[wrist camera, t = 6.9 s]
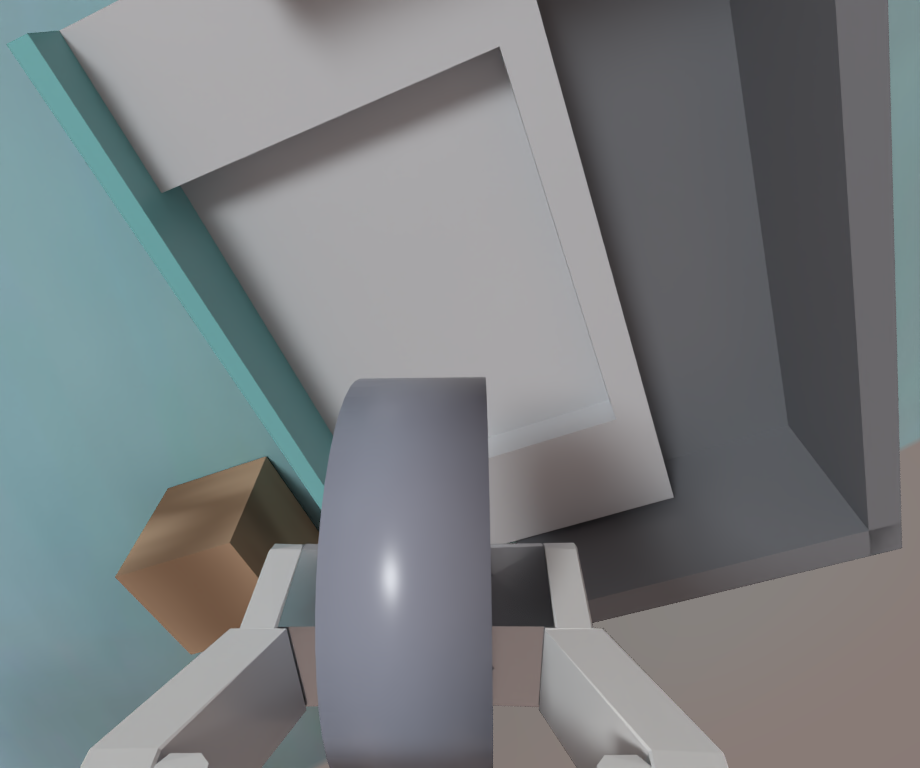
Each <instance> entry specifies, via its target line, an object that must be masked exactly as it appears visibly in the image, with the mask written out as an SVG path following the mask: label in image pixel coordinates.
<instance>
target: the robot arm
mask: <svg viewBox="0 0 920 768" xmlns="http://www.w3.org/2000/svg"><path fill="white" fill-rule="evenodd" d="M490 546H491V606H492V685H493V706H525V707H526V706H527V707H539V711H540V712H541V714H542V715H543V717H544V718H545V720H546V721H547V723H548V724H549V726H550V727H551V729H552V730H553V732H554V734H555V735H556V736H557V738H558V739H559V741H560V743H561V744H562V746H563V747H564V749H565V750H566V752H567V753H568V755H569V756H570V758H571V760H572V761H573V763H574V764H575V766H576V767H577V768H729V767H728V764H727V761H726V758H725V755H724V753H723V752H722V751H721V750H720V749H719V748H718V747H717V746H716V745H715V744H714V743H713V742H712V741H711V739H710V738H709V737H708V736H707V735H706V734H705V733H704V732H703V731H702V730H701V729H700V728H699V727H698V726H697V725H696V724H695V723H694V722H693V721H692V720H691V719H690V718H689V717H688V716H687V715H686V714H685V713H684V711H683V710H682V709H681V708H680V707H679V706H678V705H677V704H676V703H675V702H674V701H673V700H672V699H671V698H670V697H669V696H668V695H667V694H666V693H665V692H664V691H663V690H662V689H661V688H660V687H659V686H658V685H657V684H656V683H655V681H654V680H653V679H652V678H650V677H649V675H648V674H647V673H646V672H645V671H644V670H643V669H642V668H641V667H640V666H639V665H638V664H637V663H636V662H635V661H634V660H633V659H632V658H631V657H630V656H629V655H628V654H627V653H626V652H625V650H624V649H623V648H622V647H621V646H620V645H619V644H618V643H617V642H616V641H615V640H614V639H613V638H612V637H611V636H610V635H609V634H608V633H607V632H606V631H605V630H604V629H603V628H593V624H592V619H591V614H590V609H589V604H588V599H587V594H586V589H585V584H584V579H583V574H582V569H581V564H580V559H579V554H578V549H577V547H576V545H575V544H574V543H543V545H542V543H517V544H490ZM317 556H318V544H274V546H273V547H272V548H271V549H270V550H269V552H268V554H267V557H266V560H265V562H264V565H263V568H262V570H261V573H260V576H259V578H258V581H257V584H256V586H255V589H254V592H253V594H252V597H251V600H250V602H249V605H248V608H247V610H246V613H245V616H244V618H243V621H242V623H241V626H240V628H231V629H229V630H228V631H227V632H226V633H224V634H223V635H222V636H221V637H220V638H219V639H217V640H216V641H215V642H214V643H213V644H212V645H210V646H209V647H208V648H207V649H206V650H205V651H203V652H202V653H201V654H200V655H199V656H198V657H196V658H195V659H194V660H193V661H192V662H191V663H189V664H188V665H187V666H186V667H185V668H184V669H182V670H181V671H180V672H179V673H178V674H177V675H175V676H174V677H173V678H172V679H171V680H170V681H168V682H167V683H166V684H165V685H164V686H163V687H161V688H160V689H159V690H158V691H157V692H156V693H155V694H153V695H152V696H151V697H150V698H149V699H148V700H146V701H145V702H144V703H143V704H142V705H141V706H139V707H138V708H137V709H136V710H135V711H134V712H132V713H131V714H130V715H129V716H128V717H127V718H125V719H124V720H123V721H122V722H121V723H120V724H118V725H117V726H116V727H115V728H114V729H113V730H111V731H110V732H109V733H108V734H107V735H106V736H104V737H103V738H102V739H101V740H100V741H99V742H97V743H96V744H95V745H94V746H93V747H92V748H90V749H89V751H88V753H87V755H86V757H85V759H84V761H83V763H82V765H81V767H80V768H261V767H262V766H263V765H264V764H265V762H266V761H267V760H268V758H269V757H270V756H271V755H272V753H273V752H274V751H275V750H276V748H277V747H278V746H279V744H280V743H281V742H282V741H283V739H284V738H285V737H286V735H287V734H288V733H289V732H290V730H291V729H292V728H293V727H294V725H295V724H296V723H297V721H298V720H299V719H300V718H301V716H302V715H303V714H304V712H305V711H306V706H318V694H317V681H316V656H315V601H316V573H317Z"/></svg>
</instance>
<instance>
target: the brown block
mask: <svg viewBox="0 0 920 768" xmlns="http://www.w3.org/2000/svg"><path fill="white" fill-rule="evenodd" d="M318 541H319V532H318V530H317V529H316V527H315V526H314V524H313V523H312V522H311V520H310V519H309V517H308V516H307V514H306V513H305V511H304V510H303V509H302V507H301V506H300V504H299V503H298V501H297V500H296V498H295V497H294V496H293V494H292V493H291V491H290V490H289V488H288V487H287V486H286V484H285V483H284V481H283V480H282V478H281V477H280V475H279V474H278V473H277V471H276V470H275V468H274V467H273V465H272V464H271V463H270V461H269V460H268V458H267V457H263V458H260V459H257V460H254V461H251V462H248V463H245V464H241V465H238V466H235V467H232V468H229V469H226V470H223V471H220V472H217V473H214V474H211V475H208V476H205V477H202V478H199V479H196V480H193V481H189V482H186V483H183V484H180V485H177V486H174V487H171V488H168V489H167V491H166V493H165V494H164V496H163V498H162V499H161V501H160V503H159V504H158V506H157V508H156V509H155V511H154V513H153V514H152V516H151V518H150V519H149V521H148V523H147V524H146V526H145V528H144V529H143V531H142V533H141V534H140V536H139V538H138V540H137V541H136V543H135V545H134V546H133V548H132V550H131V551H130V553H129V555H128V556H127V558H126V560H125V561H124V563H123V565H122V566H121V568H120V570H119V571H118V573H117V575H116V576H115V578H116V579H117V580H118V581H119V582H120V583H121V584H122V585H123V586H124V587H125V588H126V589H127V590H128V591H129V592H130V593H131V594H132V595H133V596H134V597H135V598H136V599H137V600H138V601H139V602H140V603H141V604H142V605H143V606H144V607H145V608H146V609H147V610H148V611H149V612H150V613H151V614H152V615H153V616H154V617H155V618H156V619H157V620H158V621H159V622H160V623H161V624H162V625H163V627H164V628H165V629H166V630H167V631H168V632H169V633H170V634H171V635H172V636H173V637H174V638H175V639H176V640H177V641H178V642H179V643H180V644H181V645H182V646H183V647H184V648H185V649H186V650H187V651H188V652H189V653H190V654H195V653H199V652H203V651H205V650H206V649H207V648H208V647H209V646H210V645H212V644H213V643H214V642H215V641H216V640H217V639H219V638H220V637H221V636H222V635H223V634H224V633H226V632H227V631H228V630H229V629H231V628H240V626H241V623H242V621H243V618H244V616H245V613H246V610H247V608H248V605H249V602H250V600H251V597H252V594H253V592H254V589H255V586H256V584H257V581H258V578H259V576H260V573H261V570H262V568H263V565H264V562H265V560H266V557H267V554H268V552H269V550H270V549H271V548H272V547H273V546H274V544H318Z"/></svg>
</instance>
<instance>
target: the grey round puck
mask: <svg viewBox="0 0 920 768" xmlns="http://www.w3.org/2000/svg"><path fill="white" fill-rule="evenodd" d="M315 656H316V681H317V694H318V706H319V716H320V724H321V731H322V738H323V743H324V748H325V753H326V757H327V761H328V764H329V767H330V768H493V685H492V606H491V546H490V496H489V454H488V419H487V392H486V377H445V378H369V379H358V380H356V381H355V382H354V383H353V384H352V385H351V386H350V388H349V390H348V392H347V394H346V396H345V398H344V401H343V403H342V406H341V409H340V412H339V415H338V419H337V423H336V426H335V430H334V435H333V439H332V444H331V449H330V454H329V460H328V466H327V472H326V478H325V485H324V493H323V501H322V509H321V519H320V530H319V541H318V556H317V573H316V601H315Z"/></svg>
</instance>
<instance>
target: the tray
mask: <svg viewBox="0 0 920 768" xmlns="http://www.w3.org/2000/svg"><path fill="white" fill-rule="evenodd" d="M6 45H7V46H8V48H9V49H10V50H11V52H12V53H13V55H14V56H15V58H16V59H17V61H18V62H19V64H20V65H21V67H22V68H23V70H24V71H25V73H26V74H27V76H28V77H29V79H30V80H31V82H32V83H33V85H34V86H35V87H36V89H37V90H38V92H39V93H40V95H41V96H42V98H43V99H44V101H45V102H46V104H47V105H48V107H49V108H50V110H51V111H52V113H53V114H54V116H55V117H56V119H57V120H58V122H59V123H60V124H61V126H62V127H63V129H64V130H65V132H66V133H67V135H68V136H69V138H70V139H71V141H72V142H73V144H74V145H75V147H76V148H77V150H78V151H79V153H80V154H81V156H82V157H83V159H84V160H85V161H86V163H87V164H88V166H89V167H90V169H91V170H92V172H93V173H94V175H95V176H96V178H97V179H98V181H99V182H100V184H101V185H102V187H103V188H104V190H105V191H106V193H107V194H108V196H109V197H110V198H111V200H112V201H113V203H114V204H115V206H116V207H117V209H118V210H119V212H120V213H121V215H122V216H123V218H124V219H125V221H126V222H127V224H128V225H129V227H130V228H131V230H132V231H133V233H134V234H135V235H136V237H137V238H138V240H139V241H140V243H141V244H142V246H143V247H144V249H145V250H146V252H147V253H148V255H149V256H150V258H151V259H152V261H153V262H154V264H155V265H156V267H157V268H158V270H159V271H160V272H161V274H162V275H163V277H164V278H165V280H166V281H167V283H168V284H169V286H170V287H171V289H172V290H173V292H174V293H175V295H176V296H177V298H178V299H179V301H180V302H181V304H182V305H183V307H184V308H185V309H186V311H187V312H188V314H189V315H190V317H191V318H192V320H193V321H194V323H195V324H196V326H197V327H198V329H199V330H200V332H201V333H202V335H203V336H204V338H205V339H206V341H207V342H208V344H209V345H210V346H211V348H212V349H213V351H214V352H215V354H216V355H217V357H218V358H219V360H220V361H221V363H222V364H223V366H224V367H225V369H226V370H227V372H228V373H229V375H230V376H231V378H232V379H233V381H234V382H235V383H236V385H237V386H238V388H239V389H240V391H241V392H242V394H243V395H244V397H245V398H246V400H247V401H248V403H249V404H250V406H251V407H252V409H253V410H254V412H255V413H256V415H257V416H258V418H259V419H260V420H261V422H262V423H263V425H264V426H265V428H266V429H267V431H268V432H269V434H270V435H271V437H272V438H273V440H274V441H275V443H276V444H277V446H278V447H279V449H280V450H281V452H282V453H283V455H284V456H285V457H286V459H287V460H288V462H289V463H290V465H291V466H292V468H293V469H294V471H295V472H296V474H297V475H298V477H299V478H300V480H301V481H302V483H303V484H304V486H305V487H306V489H307V490H308V491H309V493H310V494H311V496H312V497H313V499H314V500H315V502H316V503H317V505H318V506H319V508H320V509H322V501H323V493H324V485H325V478H326V472H327V466H328V460H329V454H330V449H331V444H332V439H333V435H334V430H335V426H336V423H337V419H338V415H339V412H340V409H341V406H342V403H343V401H344V398H345V396H346V394H347V392H348V390H349V388H350V386H351V385H352V384H353V383H354V382H355V381H356V380H358V379H369V378H445V377H486V392H487V419H488V454H489V496H490V544H505V543H509V542H513V541H516V540H520V539H524V538H527V537H531V536H535V535H538V534H542V533H546V532H549V531H553V530H557V529H560V528H564V527H567V526H571V525H575V524H578V523H582V522H586V521H589V520H593V519H597V518H600V517H604V516H608V515H611V514H615V513H619V512H622V511H626V510H630V509H633V508H637V507H641V506H644V505H648V504H652V503H655V502H659V501H663V500H666V499H670V498H674V496H673V493H672V489H671V485H670V482H669V478H668V474H667V471H666V467H665V464H664V460H663V456H662V453H661V449H660V446H659V442H658V438H657V435H656V431H655V427H654V424H653V420H652V417H651V413H650V409H649V406H648V402H647V398H646V395H645V391H644V388H643V384H642V380H641V377H640V373H639V370H638V366H637V362H636V359H635V355H634V351H633V348H632V344H631V341H630V337H629V333H628V330H627V326H626V323H625V319H624V315H623V312H622V308H621V304H620V301H619V297H618V294H617V290H616V286H615V283H614V279H613V275H612V272H611V268H610V265H609V261H608V257H607V254H606V250H605V247H604V243H603V239H602V236H601V232H600V228H599V225H598V221H597V218H596V214H595V210H594V207H593V203H592V199H591V196H590V192H589V189H588V185H587V181H586V178H585V174H584V171H583V167H582V163H581V160H580V156H579V152H578V149H577V145H576V142H575V138H574V134H573V131H572V127H571V124H570V120H569V116H568V113H567V109H566V105H565V102H564V98H563V95H562V91H561V87H560V84H559V80H558V76H557V73H556V69H555V66H554V62H553V58H552V55H551V51H550V48H549V44H548V40H547V37H546V33H545V29H544V26H543V22H542V19H541V15H540V11H539V8H538V4H537V0H118V1H117V2H115V3H113V4H111V5H109V6H107V7H105V8H103V9H101V10H99V11H97V12H95V13H93V14H91V15H89V16H87V17H85V18H83V19H81V20H79V21H77V22H76V23H74V24H72V25H70V26H68V27H66V28H64V29H62V30H60V31H51V32H39V33H27V34H25V35H23V36H21V37H20V38H18V39H16V40H14V41H12V42H10V43H8V44H6Z"/></svg>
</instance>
